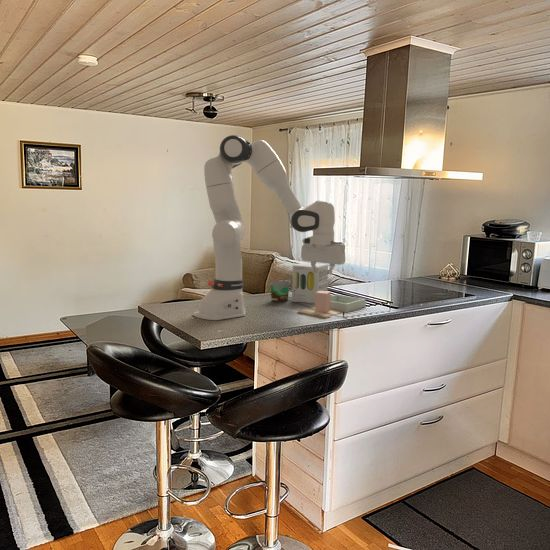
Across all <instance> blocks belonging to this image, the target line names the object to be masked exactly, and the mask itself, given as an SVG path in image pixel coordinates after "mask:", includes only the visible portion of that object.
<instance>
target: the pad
mask: <svg viewBox="0 0 550 550" xmlns="http://www.w3.org/2000/svg"><path fill="white" fill-rule="evenodd" d="M342 313H345V312H344V311H338V310H333V309H330V310H329V311H328V312H319V311H315V306H314V307H313V306H312V307H310V308H305V309H302V310H297V314H299V315H305V316H309V317H313V318H318V319H319V318H320V319H322V320H325V319H326V320H327V319H329V318H331V316H336V315H338V314H342Z"/></svg>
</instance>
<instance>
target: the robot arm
mask: <svg viewBox="0 0 550 550" xmlns="http://www.w3.org/2000/svg"><path fill="white" fill-rule="evenodd" d="M242 163H247V164H248V165H250V166H251V168H253V170H254V172H255V173H256V176H257V177H258V178H259V179H260V181H261V182H262V183H263V185H265V186H266V187H267V188H268V189H269V190H270V191H272V192H273V193H274V194H275V195H276V196H277V197H278V199H279V201H280V202H281V204H282V206H283V207H284V209H285V210H286V212H287V213H288V218H289V223H290V226H291V227H292V229H293V230H294V231H297V232H298V233H306V232H311V231H312V235H311V236H308V237H305V238H303V239H302V246H301V249H300V250H301V251H300V253H301V254H300V258H301V261H303V262H310V263H311V266H312V268H313V272H314V273H317V272H318V268H316V265H315V264H316V263H319V264H328V267H329V268H328V270H327V274H328V275H333V270H334V268H335V266H336V265H339V266H341V265H344V264H345V263H346V246H345V245H346V244H344V242H342V241H337V240H335V230H334V229H335V228H334V226H335V223H336V222H335V221H336V219H335V218H336V217H335V216H336V215H335V213H336V212H335V207H334V206H335V205H334V204H332V203H331V202H329V201H324V200H315V201H314V202H312V203H311V204H309V205H307V206H305V207H304V206H303V205H302V204H301V202H299V200H298V198H297V197H296V194H294V192H293V190H292V189H291V187H290V183H289V180H288V179H289V178H288V174H287V173H288V172H287V171H286V168H285V166H284V164H283V162H282V160H281V159H280V158H279V156H278V154H276V152H275V150H274V149H273V148H272V147H271V146H270V145H269V143H267V141H265V140H262V139H258V140H255V141H253V142H251V141H248V140H246V139H244V138H243V137H241V136H239V135H235V134H232V135H228V136H226V137H224V138H223V139H222V141H221V142H220V145H219V154H218V155H217V156H215V157H211V158H209V159H208V160H207V161H205V163H204V169H203V170H204V171H203V172H204V173H203V174H204V183H205V190H206V193H207V198H208V199H207V200H208V203H209V208H210V210H211V212H212V215H213V218H214V220H215V224H214V225H213V229H212V232H211V233H212V234H211V237H212V243H213V244H212V245H213V250H214V252H213V253H214V260H215V262H214V263H215V267H214V268H215V273H214V275H215V278H214V280H213V281H211V280H208V281H207V283H206V284H207V286H208V287H210V286H211V289H210V290H209V291H208V292H207V293H206V294H205V295H204V296H203V298H201V300H199V306H198V310H197V311H194V312H193V314H192V315H193V316H194V317H195V318H198V319H203V320H206V321H207V320H208V321H221V320H225V319H232V318H238V317H246V312H247V311H246V307H245V302H244V294H243V289H244V279H243V258H242V250H241V249H242V247H241V241H242V240H243V239H244V238H245V232H246V231H245V226H244V221H243V218H242V215H241V211H240V208H239V205H238V200H237V195H236V191H235V186H234V182H233V175H232V169H234V168H236V167H238V166H240V165H241V164H242Z"/></svg>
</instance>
